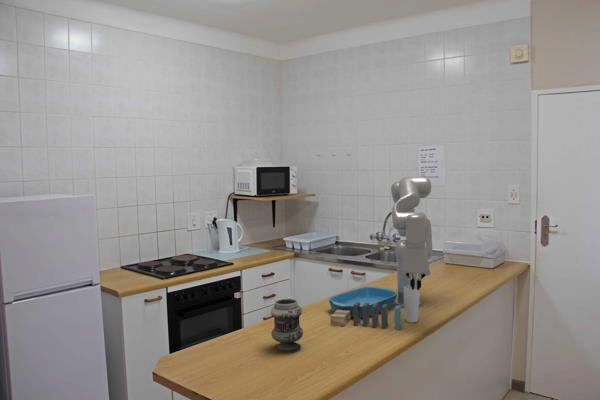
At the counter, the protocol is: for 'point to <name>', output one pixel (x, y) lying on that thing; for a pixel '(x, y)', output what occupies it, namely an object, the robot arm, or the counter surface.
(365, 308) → the domino
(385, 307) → the domino
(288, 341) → the apothecary jar
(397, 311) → the domino teal
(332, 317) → the oak block
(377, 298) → the casserole dish
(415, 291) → the drinking glass
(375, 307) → the domino
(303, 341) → the counter surface
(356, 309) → the domino
